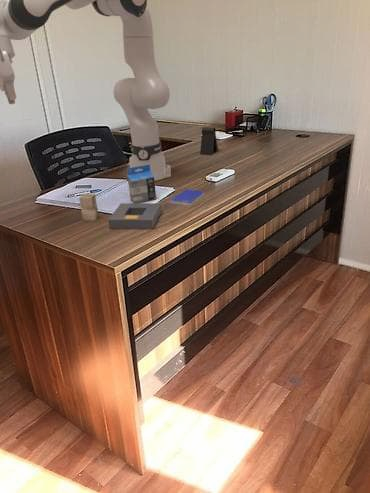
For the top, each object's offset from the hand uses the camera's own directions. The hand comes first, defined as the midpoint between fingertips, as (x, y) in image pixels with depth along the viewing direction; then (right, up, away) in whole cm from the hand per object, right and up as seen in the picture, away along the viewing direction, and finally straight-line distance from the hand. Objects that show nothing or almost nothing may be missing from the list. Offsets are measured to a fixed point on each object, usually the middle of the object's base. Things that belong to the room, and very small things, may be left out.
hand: (13, 101), depth 126 cm
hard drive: (+51, -26, +30) cm, 65 cm away
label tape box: (+35, -26, +31) cm, 53 cm away
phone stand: (+62, +4, +85) cm, 106 cm away
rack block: (+35, -34, +15) cm, 50 cm away
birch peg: (+19, -33, +18) cm, 42 cm away
